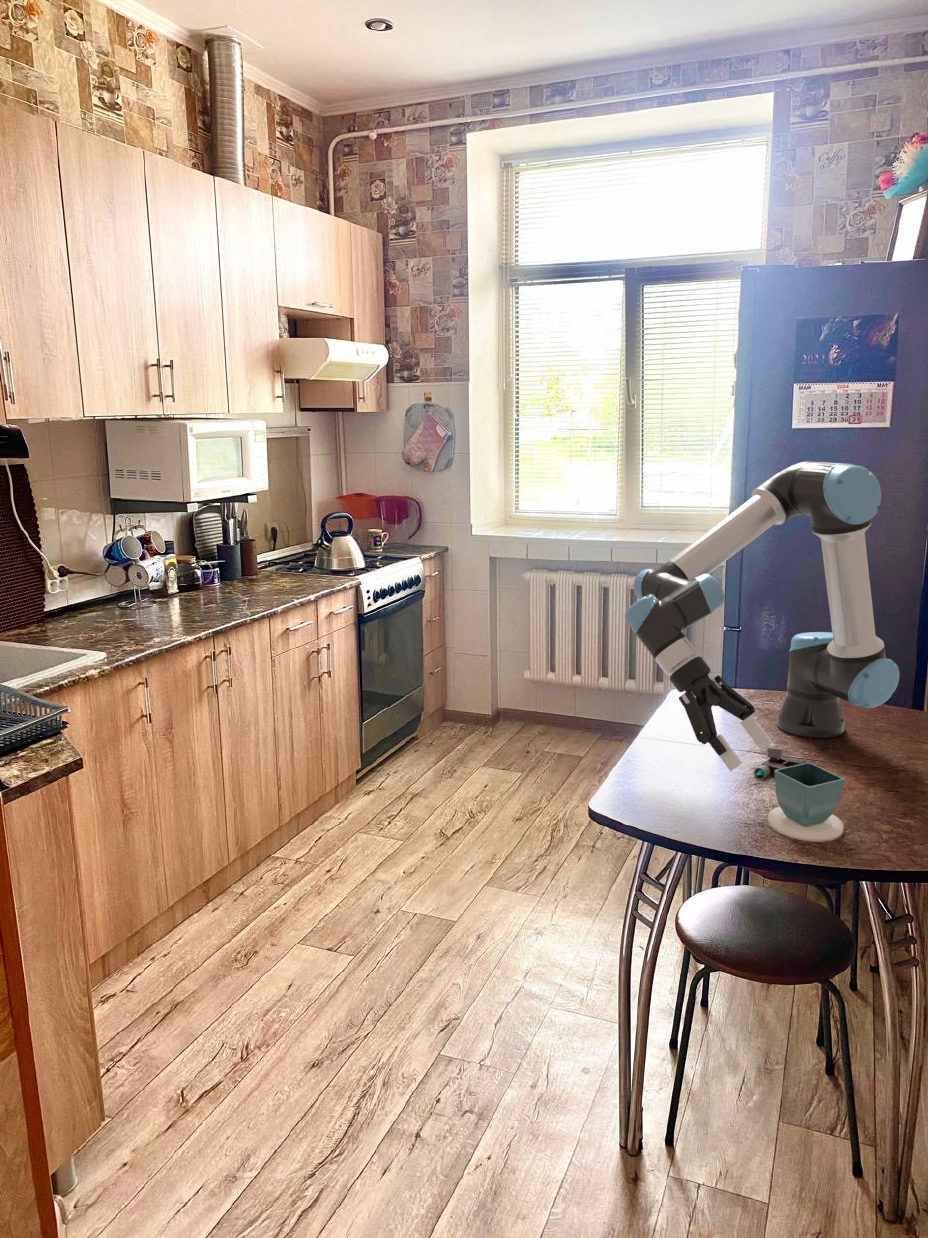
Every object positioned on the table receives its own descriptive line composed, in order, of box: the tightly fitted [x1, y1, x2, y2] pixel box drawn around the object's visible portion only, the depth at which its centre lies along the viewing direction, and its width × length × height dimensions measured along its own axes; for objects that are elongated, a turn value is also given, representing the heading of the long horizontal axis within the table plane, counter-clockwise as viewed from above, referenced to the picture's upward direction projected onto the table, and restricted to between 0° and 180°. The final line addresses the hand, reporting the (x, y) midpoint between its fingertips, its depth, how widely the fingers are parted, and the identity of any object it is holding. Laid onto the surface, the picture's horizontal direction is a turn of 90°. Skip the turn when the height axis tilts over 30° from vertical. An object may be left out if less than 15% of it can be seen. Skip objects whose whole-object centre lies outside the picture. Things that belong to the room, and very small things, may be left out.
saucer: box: [767, 806, 844, 843], centre depth 170 cm, size 13×13×1 cm
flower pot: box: [774, 762, 845, 826], centre depth 169 cm, size 9×9×9 cm
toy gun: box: [753, 746, 807, 780], centre depth 193 cm, size 10×12×5 cm
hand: (752, 756), depth 175 cm, fingers open, 13 cm apart
